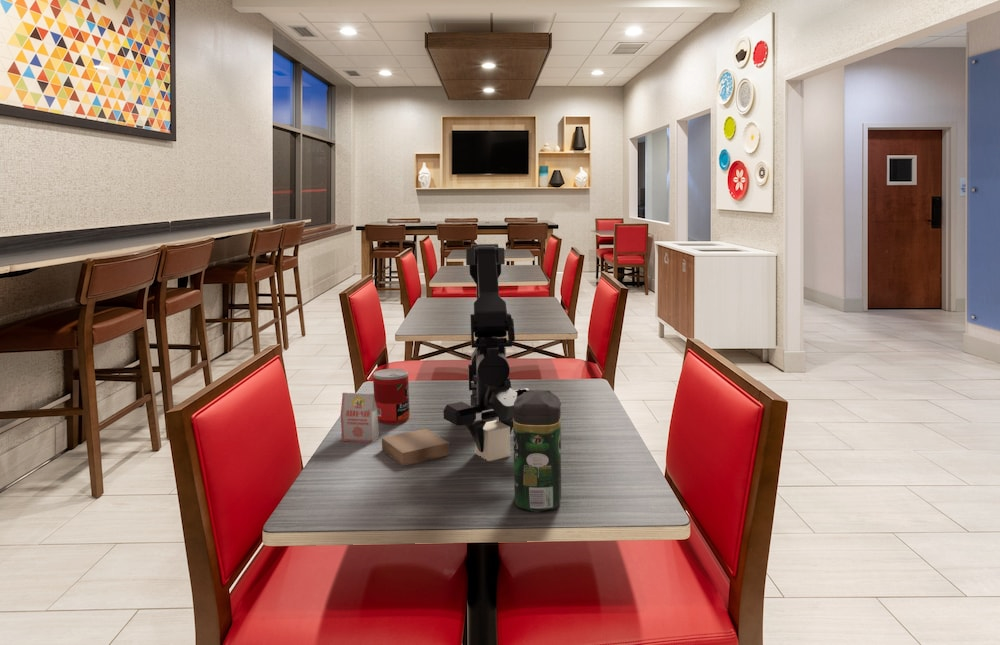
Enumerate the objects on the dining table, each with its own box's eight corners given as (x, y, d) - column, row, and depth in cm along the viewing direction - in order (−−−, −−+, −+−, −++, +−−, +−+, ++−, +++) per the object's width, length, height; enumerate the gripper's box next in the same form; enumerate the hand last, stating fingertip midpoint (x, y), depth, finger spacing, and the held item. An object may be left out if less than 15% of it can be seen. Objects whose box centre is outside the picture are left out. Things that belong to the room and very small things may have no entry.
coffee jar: (516, 488, 124) (515, 385, 120) (562, 489, 123) (562, 386, 119) (511, 512, 114) (509, 402, 111) (560, 514, 113) (560, 403, 110)
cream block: (496, 448, 143) (496, 420, 142) (510, 455, 139) (509, 426, 137) (475, 453, 140) (474, 424, 139) (488, 461, 136) (488, 431, 135)
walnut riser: (426, 442, 148) (426, 428, 147) (449, 457, 140) (449, 442, 139) (382, 451, 143) (381, 437, 142) (403, 468, 134) (402, 453, 134)
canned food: (403, 425, 158) (401, 377, 156) (369, 423, 159) (367, 376, 157) (414, 414, 165) (412, 369, 163) (382, 413, 167) (379, 367, 164)
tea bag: (348, 435, 152) (346, 390, 150) (378, 436, 151) (376, 391, 149) (342, 440, 148) (339, 395, 146) (372, 442, 147) (370, 396, 145)
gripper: (470, 389, 125) (472, 472, 127) (555, 373, 134) (555, 451, 137) (441, 376, 134) (443, 454, 137) (522, 362, 144) (522, 435, 147)
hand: (492, 448), depth 139 cm, fingers closed on cream block, 5 cm apart
